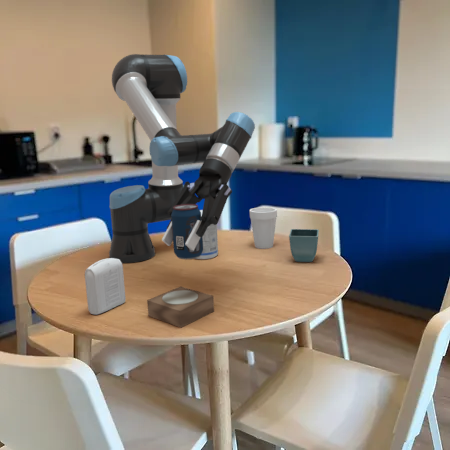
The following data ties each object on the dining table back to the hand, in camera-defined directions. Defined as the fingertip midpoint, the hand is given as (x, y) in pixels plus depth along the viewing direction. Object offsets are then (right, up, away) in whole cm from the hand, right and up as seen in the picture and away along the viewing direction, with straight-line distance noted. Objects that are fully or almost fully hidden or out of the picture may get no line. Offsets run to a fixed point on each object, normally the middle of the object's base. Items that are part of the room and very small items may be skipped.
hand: (177, 245), depth 111 cm
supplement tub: (+4, -6, +49) cm, 50 cm away
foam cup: (+25, -3, +58) cm, 63 cm away
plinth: (+1, -16, +4) cm, 17 cm away
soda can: (+2, -3, +4) cm, 5 cm away
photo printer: (-18, -16, +9) cm, 26 cm away
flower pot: (+36, -7, +41) cm, 55 cm away
